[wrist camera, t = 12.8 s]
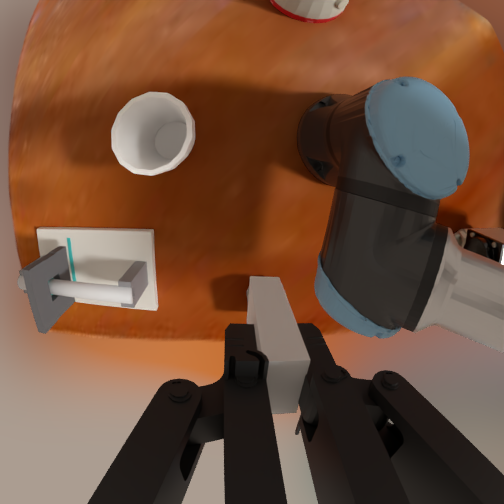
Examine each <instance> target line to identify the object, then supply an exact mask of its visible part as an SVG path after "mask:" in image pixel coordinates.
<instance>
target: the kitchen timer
mask: <svg viewBox="0 0 504 504" xmlns="http://www.w3.org/2000/svg"><path fill="white" fill-rule="evenodd" d="M269 1H270V2H271V3H272V5H273V6H274V7H275V8H277V9H278V10H279V11H280V12H281V13H283V14H285V15H287V16H289V17H291V18H293V19H296V20H300V21H303V22H309V23H324V22H328V21H331V20H334V19H335V18H336V17H338V16H339V15H340V14H341V13H342V12H343V10H344V8H345V6H346V5H347V4H348V2H349V0H269Z"/></svg>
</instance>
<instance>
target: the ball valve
mask: <svg viewBox="0 0 504 504" xmlns="http://www.w3.org/2000/svg"><path fill="white" fill-rule="evenodd" d="M454 236H455V238H456V240H457V242H458V244H459V246H461V247H462V248H464V249H466V250H469V251H471V252H474V253H476V254H479V255H481V256H484V257H486V258H489V259H491V260H494V261H496V262H498V263H501V264H503V265H504V228H482V229H480V228H471V229H460V230H458V231H457V232H456V233H454Z"/></svg>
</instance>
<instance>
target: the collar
mask: <svg viewBox="0 0 504 504" xmlns="http://www.w3.org/2000/svg"><path fill="white" fill-rule="evenodd" d="M22 272H23V277H24V281H25V286H26V290H27V294H28V298H29V302H30V305H31V309H32V312H33V315H34V319H35V322H36V325H37V328H38V331H39V332H41V333H45V334H46V333H47V332H48V331H49V329H50V328H51V327H52V326H53V325H54V324H55V323H56V321H57V320H58V319H59V317H60V316H61V315H62V314H63V313H64V312H65V311H66V310H67V309H68V308H69V307H70V306H71V305H72V304H73V303H74V302H75V298H74V297H67V296H60V295H54V294H53V295H52V296H51V292H50V288H49V283H48V281H49V280H50V279H52V278H54V279H58V280H67V281H71V277H70V271H69V265H68V258H67V251H66V246H58V247H57V248H55V249H53V250H52V251H50V252H49V253H48V254H46V255H45V256H43V257H42V258H40V259H39V260H36V261H34V262H33V263H31V264H30V265H28V266H27V267H25V268H24V269H22Z"/></svg>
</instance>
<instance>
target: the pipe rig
mask: <svg viewBox="0 0 504 504" xmlns="http://www.w3.org/2000/svg"><path fill="white" fill-rule="evenodd" d="M37 237H38V245H39V252H40V258H42V257H43V256H45V255H46V254H48V253H49V252H50V251H52V250H53V249H55V248H57V247H58V246H66V251H67V258H68V265H69V271H70V277H71V281H67V280H58V279H54V278H52V279H50V280H49V281H48V283H49V288H50V292H51V296H52V295H53V294H54V295H60V296H67V297H74V298H75V302H81V303H89V304H97V305H105V306H113V307H123V308H132V309H143V310H154V311H156V310H157V308H158V298H157V285H156V270H155V251H154V229H128V228H82V227H40V228H38V229H37ZM40 258H38V259H37V260H39V259H40ZM35 261H36V260H35ZM32 263H33V262H32ZM30 264H31V263H30ZM30 264H29V265H30ZM27 266H28V265H27ZM27 266H26V267H27ZM24 268H25V267H24ZM24 268H23V269H24ZM19 272H20V276H19V278H18V287H19V288H20V289H23V290H24V293H27V290H26V286H25V281H24V277H23V272H22V269H21V270H20V271H19Z"/></svg>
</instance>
